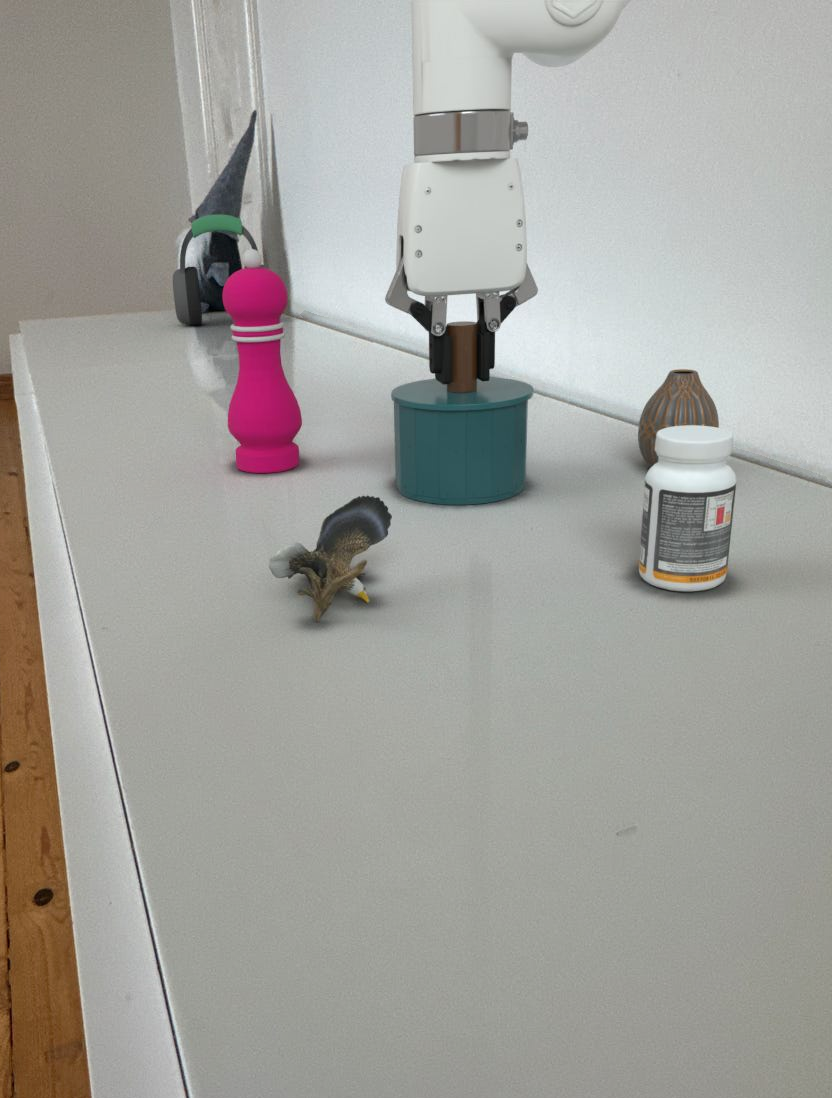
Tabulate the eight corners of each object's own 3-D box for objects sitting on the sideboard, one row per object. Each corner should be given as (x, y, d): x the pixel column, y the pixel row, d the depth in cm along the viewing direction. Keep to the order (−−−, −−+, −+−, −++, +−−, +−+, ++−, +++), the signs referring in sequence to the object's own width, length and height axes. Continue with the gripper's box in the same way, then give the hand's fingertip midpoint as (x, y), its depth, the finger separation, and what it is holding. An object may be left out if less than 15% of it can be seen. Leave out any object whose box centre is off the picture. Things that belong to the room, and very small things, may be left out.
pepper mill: (237, 457, 102) (218, 248, 94) (307, 454, 102) (294, 244, 94) (226, 476, 96) (205, 253, 87) (301, 473, 95) (287, 250, 87)
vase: (669, 483, 87) (679, 382, 84) (619, 466, 93) (626, 370, 90) (730, 471, 90) (742, 372, 86) (678, 455, 96) (687, 361, 92)
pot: (501, 464, 96) (503, 379, 92) (543, 497, 85) (546, 403, 82) (385, 475, 94) (382, 389, 90) (413, 510, 84) (411, 415, 80)
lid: (507, 384, 93) (508, 310, 90) (554, 411, 82) (557, 327, 79) (378, 395, 91) (376, 319, 88) (409, 423, 80) (407, 338, 77)
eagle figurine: (404, 609, 62) (417, 536, 69) (335, 524, 59) (356, 457, 66) (310, 660, 65) (331, 585, 72) (239, 581, 62) (269, 512, 70)
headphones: (271, 317, 205) (264, 211, 197) (274, 324, 196) (266, 213, 187) (179, 322, 204) (167, 216, 195) (177, 329, 194) (164, 218, 185)
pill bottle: (743, 580, 67) (762, 432, 63) (687, 601, 64) (703, 448, 60) (674, 557, 71) (688, 418, 67) (619, 577, 68) (629, 432, 64)
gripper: (544, 138, 82) (536, 366, 90) (351, 147, 80) (361, 380, 88) (578, 134, 76) (567, 380, 83) (369, 143, 73) (378, 396, 81)
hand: (461, 378), depth 86 cm, fingers closed on lid, 2 cm apart
